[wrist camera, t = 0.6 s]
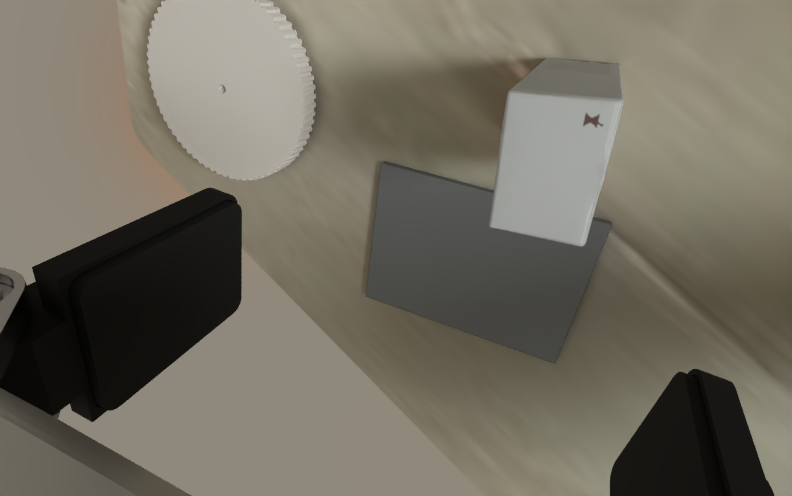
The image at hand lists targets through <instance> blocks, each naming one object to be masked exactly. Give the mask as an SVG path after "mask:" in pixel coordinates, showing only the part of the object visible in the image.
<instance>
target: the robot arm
mask: <svg viewBox="0 0 792 496" xmlns="http://www.w3.org/2000/svg"><path fill="white" fill-rule="evenodd" d="M241 247H242V211H241V207H240V206H239V205H238V204H237V200H236V198H235V197H234V196H233V195H230V194H227V193H224V192H222V191H219V190H216V189H214V188H207V189H204V190H202V191H200V192H197V193H195V194H193V195H191V196H189V197H186V198H184V199H182V200H180V201H178V202H175V203H173V204H171V205H169V206H167V207H164V208H162V209H160V210H158V211H155V212H154V213H151V214H149V215H146V216H144V217H142V218H140V219H138V220H136V221H133V222H131V223H129V224H127V225H124V226H122V227H120V228H118V229H116V230H113V231H111V232H109V233H107V234H105V235H102V236H100V237H98V238H96V239H93V240H91V241H89V242H87V243H85V244H82V245H80V246H78V247H76V248H74V249H72V250H69V251H67V252H65V253H62V254H60V255H58V256H56V257H54V258H51V259H49V260H47V261H45V262H43V263H40V264H38V265H36V266H34V267H32V269H33V273H34V276H35V280H36V282H34V283H32V284H30V285H28V286H27V285H26V282H25V280H24V278H23V276H22V275H21V274H19V273H17V272H16V271H13V270H9V269H5V268H0V496H191V495H189V494H188V493H186V492H184V491H183V490H181V489H179V488H177V487H176V486H174V485H172V484H170V483H169V482H167V481H165V480H163V479H162V478H160V477H158V476H156V475H154V474H153V473H151V472H149V471H148V470H146V469H144V468H142V467H141V466H139V465H137V464H135V463H134V462H132V461H130V460H128V459H127V458H124V457H123V456H121V455H119V454H118V453H116V452H114V451H112V450H111V449H109V448H107V447H105V446H104V445H102V444H100V443H98V442H97V441H95V440H93V439H91V438H90V437H88V436H86V435H84V434H83V433H81V432H79V431H77V430H76V429H74V428H72V427H70V426H68V425H67V424H65V423H63V422H61V421H60V420H58V417H59V414H60V410H61V409H63V408H64V407H65V406H67V405H68V404H69V403H70V405H71V408H72V411H74V412H76V413H77V414H79V415H81V416H83V417H84V418H86V419H88V420H90V421H91V422H93V421H95V420H96V419H97V418H98V417H100V416H101V415H102V414H103V413H105V412H106V411H107V410H114V409H116V408H118V407H119V406H121V405H122V404H123V403H124V402H126V401H127V400H128V399H129V398H130V397H132V396H133V395H134V394H135V393H136V392H138V391H139V390H140V389H141V388H143V387H144V386H145V385H146V384H148V383H149V382H150V381H151V380H152V379H154V378H155V377H156V376H157V375H159V374H160V373H161V372H162V371H163V370H165V369H166V368H167V367H168V366H169V365H171V364H172V363H173V362H174V361H176V360H177V359H178V358H179V357H181V356H182V355H183V354H184V353H185V352H187V351H188V350H189V349H190V348H192V347H193V346H194V345H195V344H196V343H198V342H199V341H200V340H201V339H203V338H204V337H205V336H206V335H207V334H209V333H210V332H211V331H212V330H214V329H215V328H216V327H217V326H218V325H220V324H221V323H222V322H223V321H225V320H226V319H227V318H228V317H229V316H231V315H232V314H233V313H234V312H235V311H236V310H237V308H238V307H239V305H240V301H241ZM610 496H774V493H773V491H772V489H771V487H770V485H769V483H768V481H767V480H766V478H765V475H764V472H763V469H762V466H761V463H760V460H759V457H758V454H757V451H756V448H755V445H754V442H753V439H752V436H751V433H750V430H749V427H748V424H747V421H746V418H745V415H744V412H743V409H742V406H741V403H740V400H739V397H738V394H737V391H736V388H735V386H734V384H733V383H732V382H730V381H728V380H725V379H723V378H720V377H717V376H715V375H712V374H709V373H707V372H704V371H701V370H699V369H693V370H691V371H690V372H689V373H688V374H686V373H683V372H678V373H677V374H676V375H675V376H674V377H673V378H672V380H671V381H670V383H669V384H668V386H667V387H666V389H665V390H664V392H663V393H662V394H661V396H660V397H659V399H658V400H657V402H656V403H655V405H654V406H653V408H652V409H651V410H650V412H649V413H648V415H647V416H646V418H645V419H644V421H643V422H642V424H641V425H640V426H639V428H638V429H637V431H636V432H635V434H634V435H633V437H632V438H631V439H630V441H629V442H628V444H627V445H626V447H625V448H624V450H623V451H622V453H621V454H620V455H619V457H618V458H617V460H616V461H615V463H614V466H613V468H612V472H611V476H610Z"/></svg>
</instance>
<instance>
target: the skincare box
mask: <svg viewBox="0 0 792 496" xmlns="http://www.w3.org/2000/svg"><path fill="white" fill-rule="evenodd" d="M623 99H624V98H623V91H622V81H621V70H620V64H613V63H602V62H592V61H577V60H563V59H551V58H546V59H544V60H543V61H542V62H541V63H540V64H539V65H538V66H537V67H535V68H534V69H533V70H532V71H531V72H530V73H529V74H527V75H526V76H525V77H524V78H523V79H522V80H521V81H519V82H518V83H517V84H516V85H515V86H514V87H513V88H512V89H510V90H509V91H508V94H507V100H506V106H505V112H504V118H503V123H502V130H501V137H500V144H499V153H498V162H497V171H496V178H495V185H494V193H493V200H492V208H491V215H490V222H489V226H490V227H491V228H497V229H501V230H506V231H510V232H515V233H520V234H524V235H529V236H533V237H538V238H543V239H547V240H552V241H556V242H561V243H566V244H570V245H575V246H580V247H582V246H584V245H585V243H586V241H587V237H588V233H589V230H590V226H591V222H592V218H593V215H594V211H595V207H596V203H597V200H598V196H599V193H600V190H601V188H602V185H603V181H604V178H605V173H606V168H607V165H608V161H609V158H610V154H611V150H612V146H613V142H614V138H615V134H616V131H617V127H618V123H619V119H620V115H621V111H622V107H623Z"/></svg>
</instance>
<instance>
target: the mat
mask: <svg viewBox="0 0 792 496" xmlns="http://www.w3.org/2000/svg"><path fill="white" fill-rule="evenodd" d="M493 193H494V191H493V190H489V189H485V188H482V187H478V186H474V185H470V184H467V183H463V182H459V181H456V180H452V179H448V178H444V177H441V176H437V175H433V174H429V173H426V172H422V171H418V170H415V169H411V168H407V167H403V166H400V165H396V164H392V163H388V162H385V161H384V162H383V163H382V165H381V173H380V182H379V190H378V198H377V207H376V215H375V223H374V232H373V240H372V248H371V257H370V265H369V274H368V282H367V290H366V297H369V298H372V299H375V300H378V301H380V302H383V303H386V304H389V305H392V306H394V307H397V308H400V309H403V310H406V311H408V312H411V313H414V314H417V315H420V316H422V317H425V318H428V319H431V320H434V321H436V322H439V323H442V324H445V325H448V326H450V327H453V328H456V329H459V330H462V331H464V332H467V333H470V334H473V335H476V336H478V337H481V338H484V339H487V340H490V341H493V342H495V343H498V344H501V345H504V346H507V347H509V348H512V349H515V350H518V351H521V352H523V353H526V354H529V355H532V356H535V357H537V358H540V359H543V360H546V361H549V362H551V363H554V364H555V362H556V359H557V357H558V355H559V352H560V350H561V347H562V345H563V342H564V340H565V338H566V335H567V333H568V330H569V328H570V325H571V323H572V321H573V318H574V316H575V313H576V311H577V308H578V306H579V303H580V301H581V299H582V296H583V294H584V291H585V289H586V286H587V284H588V282H589V279H590V277H591V274H592V272H593V269H594V267H595V265H596V262H597V260H598V257H599V255H600V252H601V250H602V247H603V245H604V243H605V240H606V238H607V235H608V233H609V230H610V228H611V226H612V222H608V221H605V220H601V219H597V218H594V217H593V218H592V222H591V226H590V230H589V233H588V237H587V241H586V243H585V245H584V246H582V247H580V246H575V245H570V244H566V243H561V242H556V241H552V240H547V239H543V238H538V237H533V236H529V235H524V234H520V233H515V232H510V231H506V230H501V229H497V228H491V227H490V226H489V222H490V215H491V208H492V200H493Z"/></svg>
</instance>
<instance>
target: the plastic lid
mask: <svg viewBox="0 0 792 496" xmlns="http://www.w3.org/2000/svg"><path fill="white" fill-rule="evenodd" d="M161 5H162V6H161V7H158V8H157V11H158V13H155V14H154V18H155V20H153V21H152V22H151V24H152V28H150V29H149V32H150V36H148V40H149V44H147V48H148V49H149V51H148V52H147V56H148V58H149V60H148V61H147V64H148V65H149V69H148V73H150V77H149V80H150V82H152V86H151V88H152V90H154V94H153V95H154V98H156V100H157V102H156V104H157V106H159V107H160V113H161V114H163V116H164V118H163V119H164V121H166V122H167V124H168V125H167V126H168V128H169V129H171V130H172V134H173V135H175V136H176V137H177V141H178V142H180V143H181V144H182V147H183V148H186V149H187V152H188V153H189V154H190V153H191V154H192V157H193V158H194V159H197V160H198V162H199V163H200V164H202V163H203V164H204V167H206V168H208V167H209V168H210V170H211V171H216V173H217V174H219V175H220V174H222V175H223V176H224V177H227V176H229V178H230V179H233V178H235V179H236V180H240V179H241V180H242V181H245V180H247V179H248V181H251V180H253V179H254V180H257V179H259V178H260V179H262V178H264V177H267V176H269V175H271V174H273V173H275V172H277V171H279V170H281V169H283V168H285V167H286V166H288V165H290V163H291V162H293V161H294V160H295V158H296V157H298V156H299V155H300V154H299V152H301V151H303V149H304V148H303V146H305V145H306V144H307V142H306V140H307V139H309V137H310V135H309V132H311V131H312V127H311V125H312V124H314V120H313V116H315V113H316V112H315V111H314V108H315V107H316V103H315V102H314V99H315V98H316V94H314V90H315V85H314V84H313V80H314V76H313V75H311V71H312V67H311V66H309V63H308V62H309V61H310V60H309V57H306V55H305V52H306V50H305V48H303V47H302V45H301V43H302V41H301V39H298V37H297V32H296V30H293V29H292V24H291V22H287V20H286V16H285V15H284V14H281V13H280V9H279V8H278V7H274V6H273V2H272V1H267V0H165V1H162V2H161Z"/></svg>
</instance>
